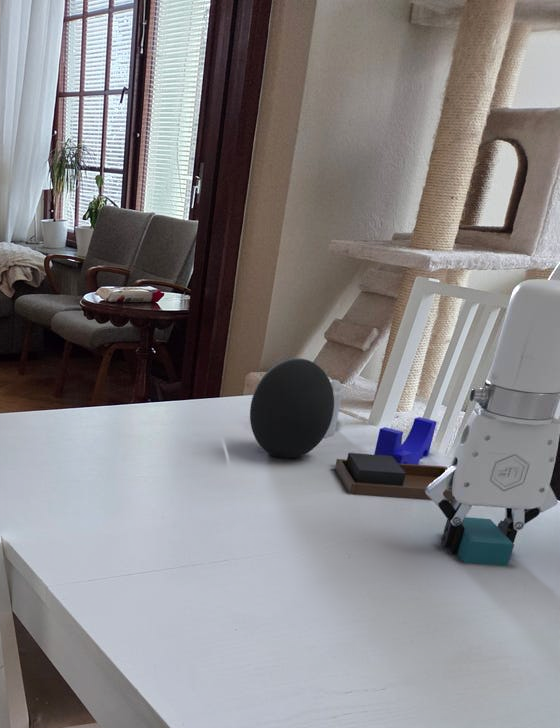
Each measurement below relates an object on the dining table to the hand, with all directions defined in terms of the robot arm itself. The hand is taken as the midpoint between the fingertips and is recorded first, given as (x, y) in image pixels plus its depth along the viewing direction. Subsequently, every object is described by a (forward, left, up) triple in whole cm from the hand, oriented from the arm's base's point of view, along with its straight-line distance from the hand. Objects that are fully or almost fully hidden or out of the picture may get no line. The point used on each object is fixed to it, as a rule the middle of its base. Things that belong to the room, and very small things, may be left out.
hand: (473, 553), depth 102 cm
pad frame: (+3, -24, 0) cm, 24 cm away
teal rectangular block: (0, 0, 0) cm, 0 cm away
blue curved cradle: (-1, -36, -1) cm, 36 cm away
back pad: (+7, -24, 0) cm, 25 cm away
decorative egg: (+18, -35, -1) cm, 39 cm away
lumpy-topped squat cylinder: (+12, -53, -1) cm, 54 cm away
